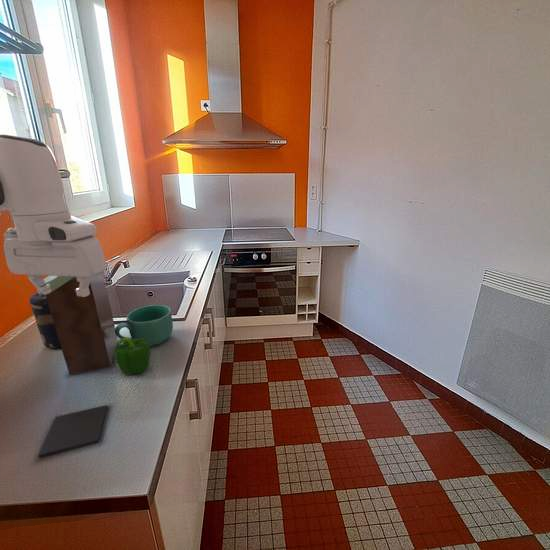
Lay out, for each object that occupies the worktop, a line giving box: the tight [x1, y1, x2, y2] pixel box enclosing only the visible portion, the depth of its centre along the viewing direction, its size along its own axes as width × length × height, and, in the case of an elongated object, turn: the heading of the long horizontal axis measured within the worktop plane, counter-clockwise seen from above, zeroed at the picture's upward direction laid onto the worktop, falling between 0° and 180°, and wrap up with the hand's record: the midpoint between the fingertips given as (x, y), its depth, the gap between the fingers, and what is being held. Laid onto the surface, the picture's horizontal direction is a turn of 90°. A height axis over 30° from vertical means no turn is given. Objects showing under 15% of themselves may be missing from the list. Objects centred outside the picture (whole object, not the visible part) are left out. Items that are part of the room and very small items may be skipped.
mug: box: [115, 304, 174, 347], centre depth 93 cm, size 17×13×10 cm
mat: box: [37, 404, 108, 458], centre depth 62 cm, size 10×10×1 cm
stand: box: [46, 273, 119, 375], centre depth 84 cm, size 10×14×26 cm
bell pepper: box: [114, 337, 151, 375], centre depth 80 cm, size 8×8×10 cm
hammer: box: [35, 276, 74, 293], centre depth 74 cm, size 19×5×2 cm, turn 7°
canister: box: [29, 292, 61, 349], centre depth 93 cm, size 10×10×18 cm
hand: (64, 294), depth 62 cm, fingers open, 8 cm apart
